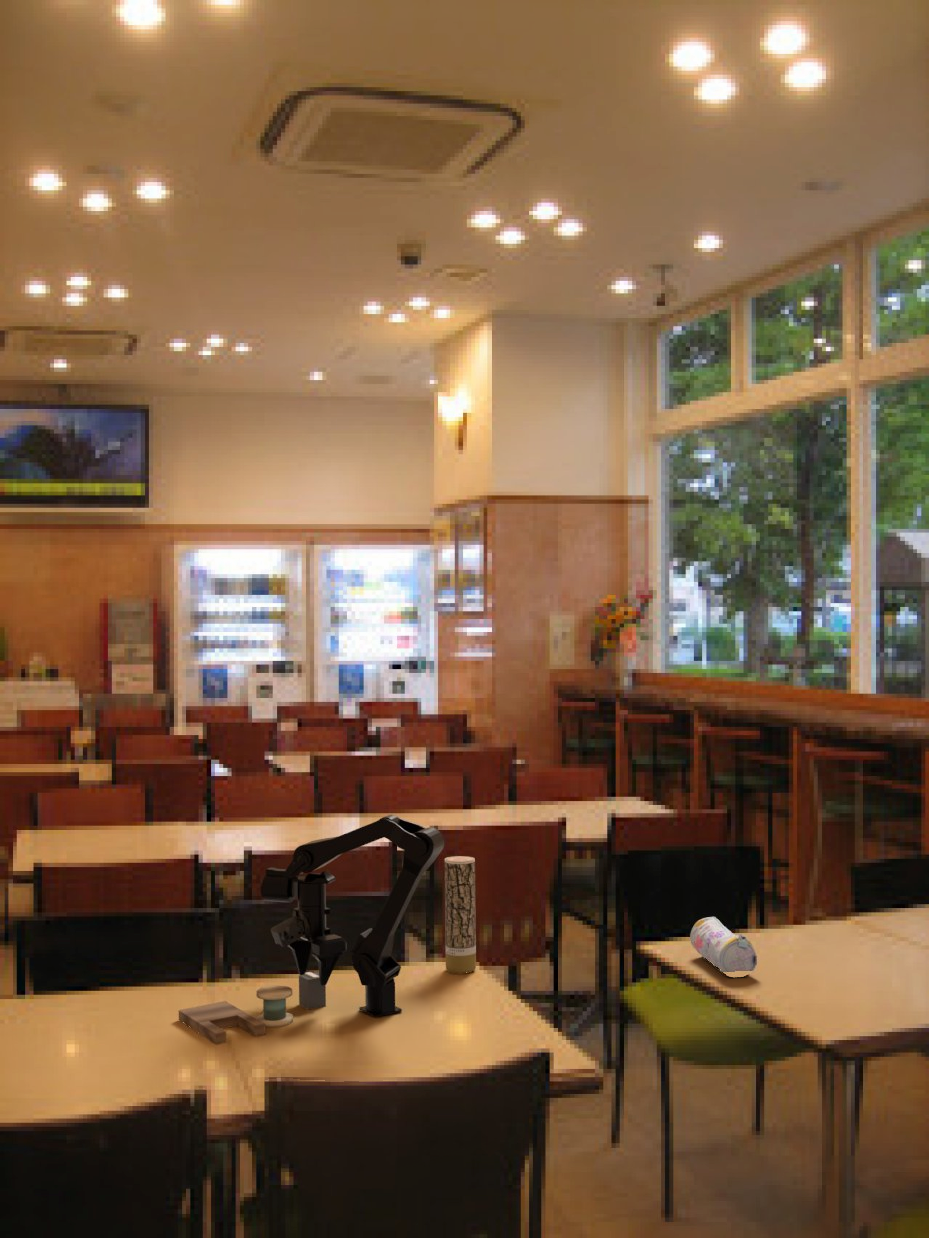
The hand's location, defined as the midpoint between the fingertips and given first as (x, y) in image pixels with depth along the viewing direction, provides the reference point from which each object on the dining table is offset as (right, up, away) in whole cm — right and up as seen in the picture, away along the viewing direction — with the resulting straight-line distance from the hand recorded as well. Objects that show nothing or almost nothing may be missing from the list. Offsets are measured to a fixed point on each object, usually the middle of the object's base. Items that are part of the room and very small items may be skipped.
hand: (312, 980), depth 261 cm
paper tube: (+30, -5, +25) cm, 39 cm away
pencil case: (+89, -5, +26) cm, 93 cm away
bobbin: (-6, -5, -10) cm, 13 cm away
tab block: (0, -5, 0) cm, 5 cm away
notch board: (-16, -5, -14) cm, 22 cm away
